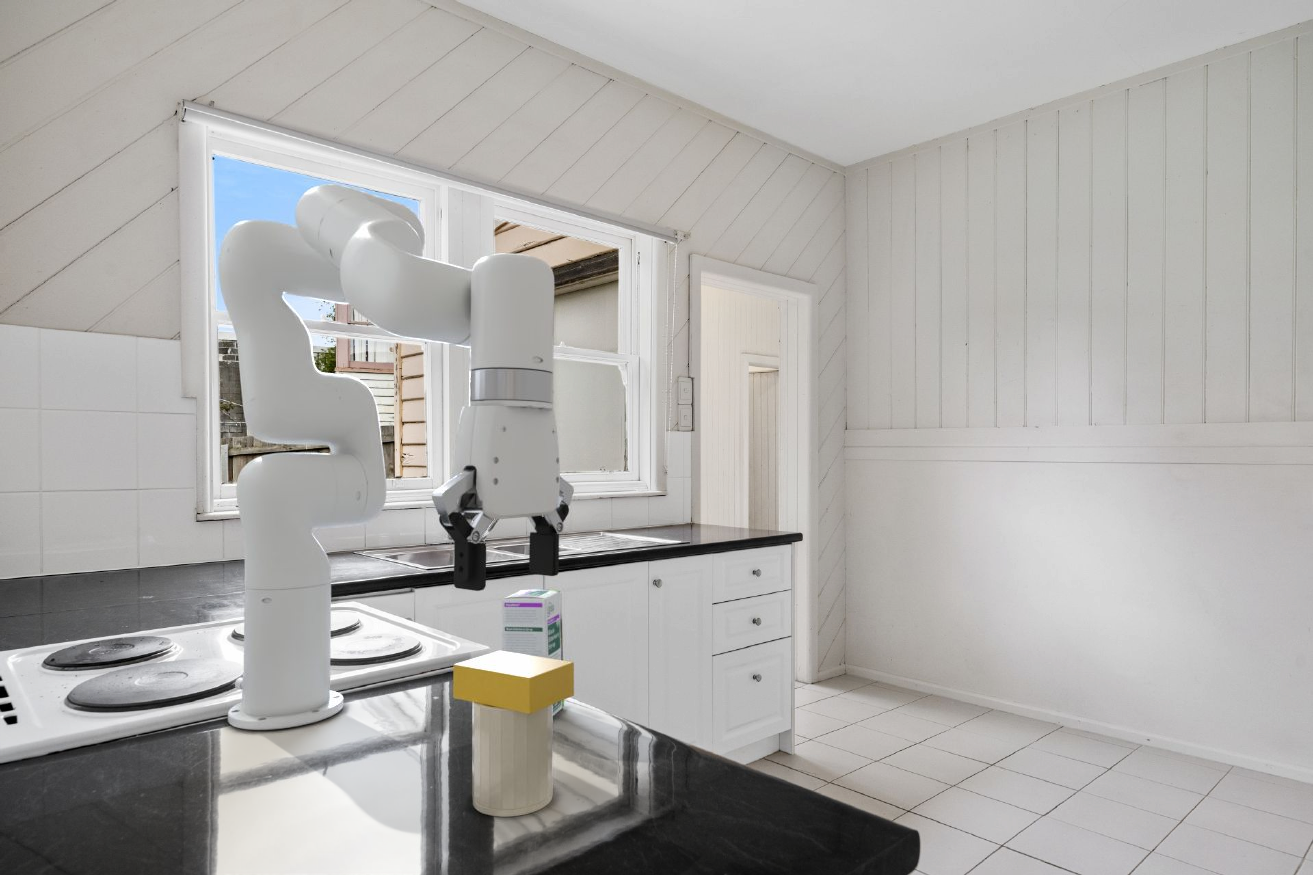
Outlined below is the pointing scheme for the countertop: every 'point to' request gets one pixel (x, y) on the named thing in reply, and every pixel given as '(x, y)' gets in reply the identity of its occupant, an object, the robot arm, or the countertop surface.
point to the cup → (511, 760)
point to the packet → (513, 681)
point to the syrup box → (534, 625)
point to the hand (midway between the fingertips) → (508, 581)
